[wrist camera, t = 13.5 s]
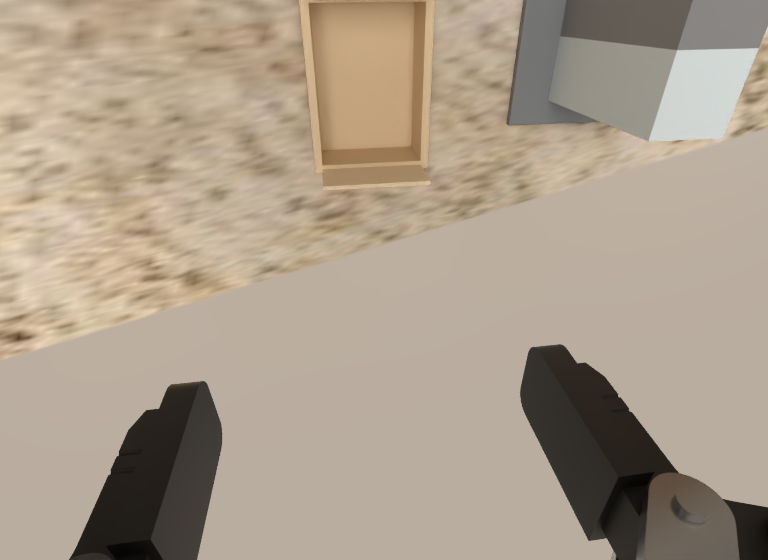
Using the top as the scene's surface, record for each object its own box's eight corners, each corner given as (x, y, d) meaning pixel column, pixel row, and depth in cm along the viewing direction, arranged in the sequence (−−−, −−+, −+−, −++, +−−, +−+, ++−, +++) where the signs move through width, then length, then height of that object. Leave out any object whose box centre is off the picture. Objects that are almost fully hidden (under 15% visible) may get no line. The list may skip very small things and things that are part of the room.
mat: (528, -38, 33) (532, -39, 33) (672, -38, 34) (678, -39, 34) (506, 123, 40) (509, 125, 39) (628, 119, 41) (632, 120, 40)
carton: (301, -6, 32) (295, -10, 25) (420, -8, 33) (450, -12, 26) (316, 155, 39) (315, 190, 31) (416, 150, 40) (438, 184, 32)
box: (567, -8, 34) (697, -15, 22) (627, -8, 35) (784, -16, 23) (548, 100, 38) (648, 141, 27) (601, 98, 39) (722, 137, 27)
